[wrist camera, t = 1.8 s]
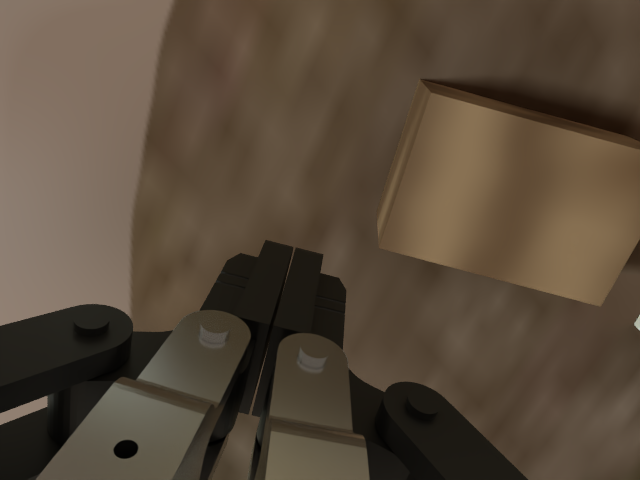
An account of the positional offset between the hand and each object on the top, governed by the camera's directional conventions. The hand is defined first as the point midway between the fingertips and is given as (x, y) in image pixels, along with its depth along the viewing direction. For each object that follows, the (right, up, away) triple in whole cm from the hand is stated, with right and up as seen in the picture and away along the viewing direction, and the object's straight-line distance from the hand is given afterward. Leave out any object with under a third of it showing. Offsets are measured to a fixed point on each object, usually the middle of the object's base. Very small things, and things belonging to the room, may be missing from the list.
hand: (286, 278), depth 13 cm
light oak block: (+11, +5, +16) cm, 20 cm away
